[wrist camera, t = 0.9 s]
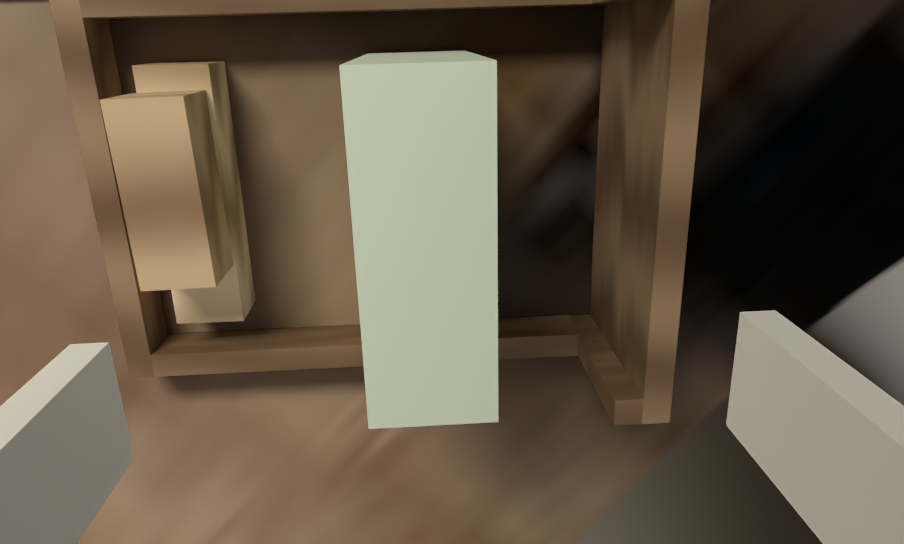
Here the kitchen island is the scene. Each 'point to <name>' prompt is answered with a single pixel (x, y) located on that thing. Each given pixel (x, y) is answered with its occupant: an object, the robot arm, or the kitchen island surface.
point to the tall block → (425, 233)
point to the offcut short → (169, 188)
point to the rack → (584, 335)
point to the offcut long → (237, 285)
